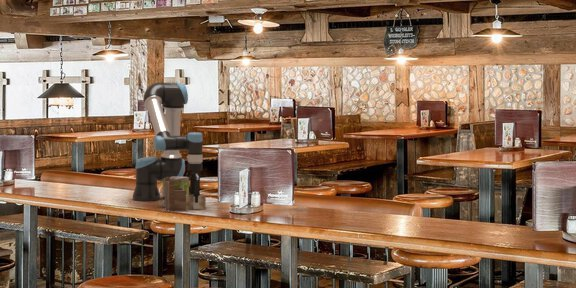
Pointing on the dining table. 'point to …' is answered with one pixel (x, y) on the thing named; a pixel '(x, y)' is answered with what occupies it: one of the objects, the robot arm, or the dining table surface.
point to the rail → (190, 202)
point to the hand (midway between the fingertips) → (194, 208)
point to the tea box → (177, 186)
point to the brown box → (174, 196)
